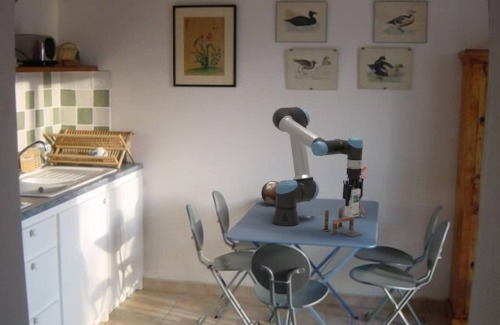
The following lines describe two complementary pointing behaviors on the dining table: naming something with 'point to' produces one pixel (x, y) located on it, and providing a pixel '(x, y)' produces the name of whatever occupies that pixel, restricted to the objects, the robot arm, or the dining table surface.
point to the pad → (350, 233)
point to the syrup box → (354, 203)
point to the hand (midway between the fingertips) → (351, 211)
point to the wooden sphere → (269, 192)
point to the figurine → (362, 177)
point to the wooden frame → (338, 221)
